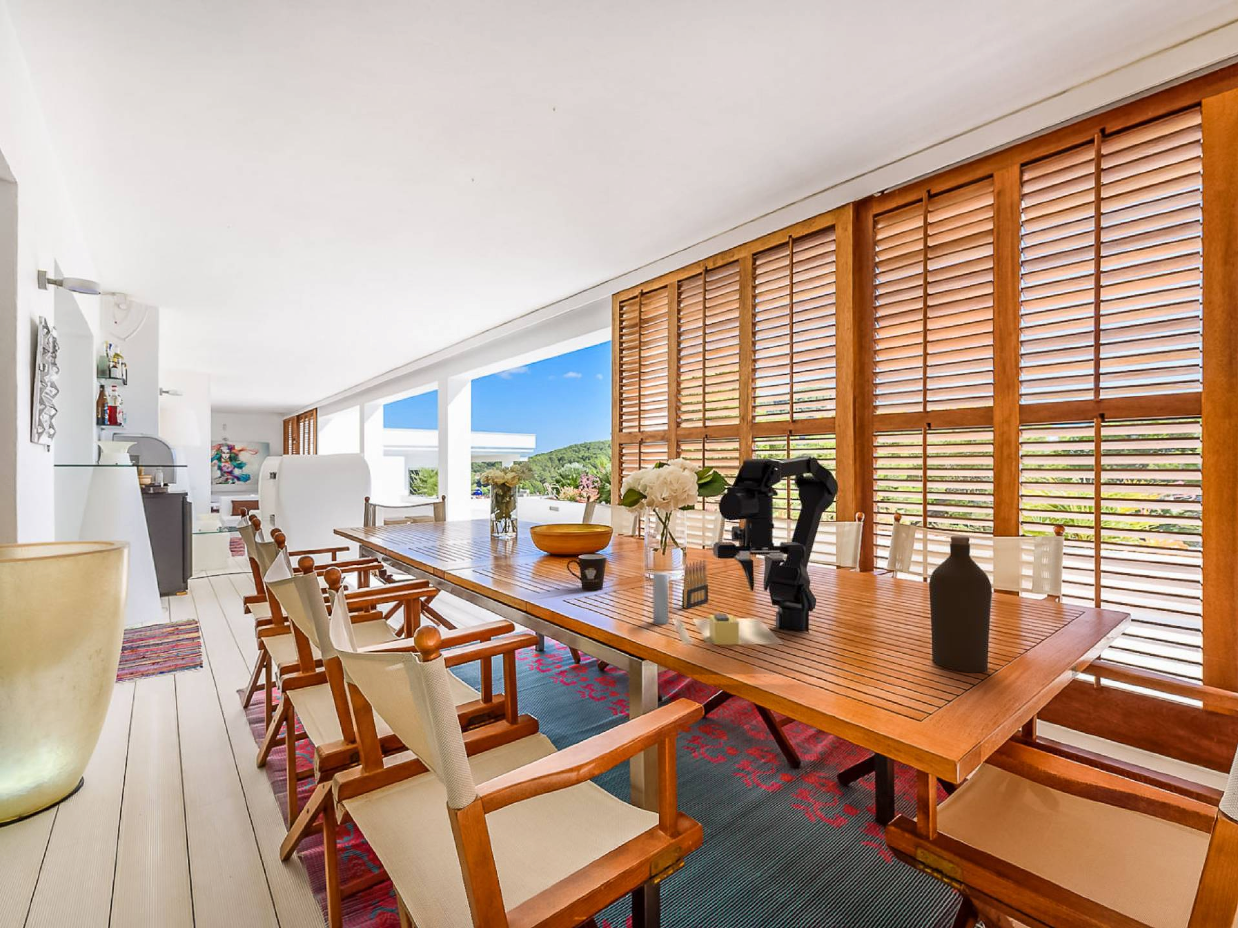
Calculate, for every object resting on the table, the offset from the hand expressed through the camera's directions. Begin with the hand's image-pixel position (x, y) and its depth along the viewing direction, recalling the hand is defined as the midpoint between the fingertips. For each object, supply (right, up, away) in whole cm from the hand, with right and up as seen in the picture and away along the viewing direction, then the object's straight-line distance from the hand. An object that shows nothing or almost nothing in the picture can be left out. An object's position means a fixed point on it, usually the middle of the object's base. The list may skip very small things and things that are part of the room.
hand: (758, 590), depth 126 cm
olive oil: (+37, -12, -11) cm, 40 cm away
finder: (-7, -11, 0) cm, 13 cm away
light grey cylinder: (-20, -12, +13) cm, 27 cm away
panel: (-6, -12, +7) cm, 15 cm away
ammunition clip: (-9, -12, +37) cm, 40 cm away
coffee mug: (-39, -12, +58) cm, 71 cm away
